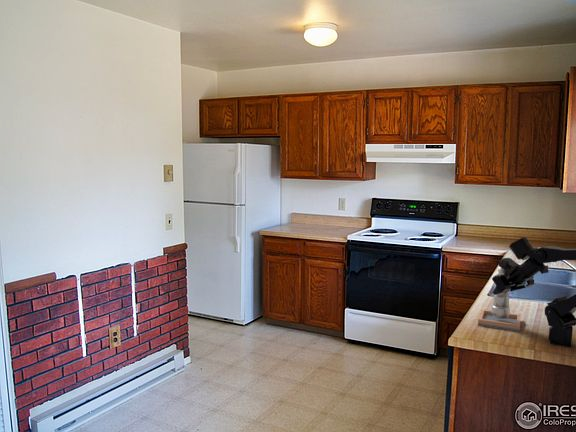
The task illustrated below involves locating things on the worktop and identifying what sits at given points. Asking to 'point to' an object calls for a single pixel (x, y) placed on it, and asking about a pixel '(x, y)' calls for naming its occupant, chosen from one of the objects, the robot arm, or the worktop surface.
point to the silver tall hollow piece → (501, 301)
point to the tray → (499, 321)
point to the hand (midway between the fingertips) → (498, 292)
